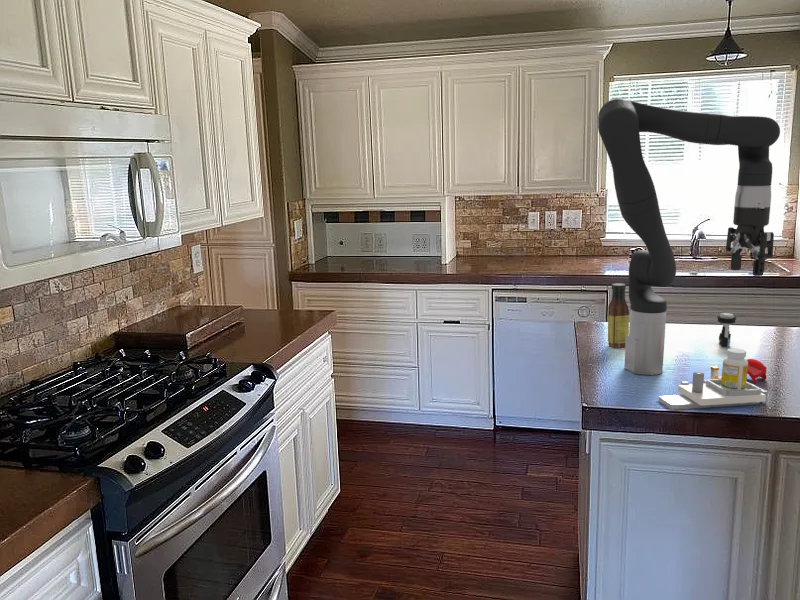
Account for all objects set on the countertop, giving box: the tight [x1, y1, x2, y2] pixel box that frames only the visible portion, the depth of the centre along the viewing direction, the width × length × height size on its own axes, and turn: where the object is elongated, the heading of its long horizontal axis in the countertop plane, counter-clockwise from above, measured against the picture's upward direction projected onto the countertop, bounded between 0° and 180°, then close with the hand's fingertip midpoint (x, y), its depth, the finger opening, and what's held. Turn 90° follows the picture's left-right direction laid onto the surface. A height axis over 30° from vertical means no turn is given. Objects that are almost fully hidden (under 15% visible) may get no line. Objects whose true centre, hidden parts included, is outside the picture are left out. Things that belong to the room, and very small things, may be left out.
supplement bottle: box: [721, 347, 748, 391], centre depth 157 cm, size 5×5×10 cm
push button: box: [716, 312, 737, 348], centre depth 205 cm, size 7×5×10 cm
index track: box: [658, 365, 768, 411], centre depth 160 cm, size 24×12×6 cm, turn 97°
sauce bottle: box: [607, 282, 630, 350], centre depth 205 cm, size 6×6×20 cm
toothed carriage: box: [677, 371, 766, 406], centre depth 158 cm, size 16×11×6 cm
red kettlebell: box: [746, 358, 767, 385], centre depth 172 cm, size 8×6×6 cm
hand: (746, 272), depth 159 cm, fingers open, 8 cm apart
